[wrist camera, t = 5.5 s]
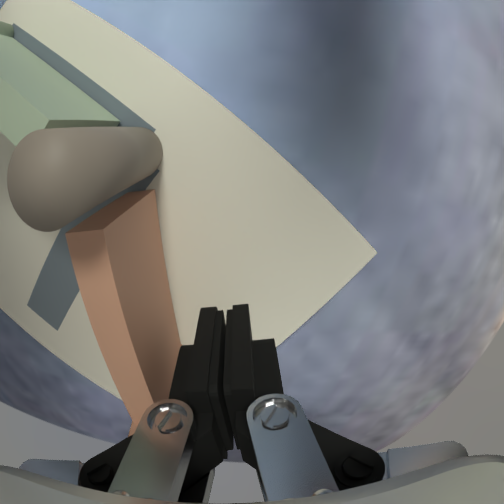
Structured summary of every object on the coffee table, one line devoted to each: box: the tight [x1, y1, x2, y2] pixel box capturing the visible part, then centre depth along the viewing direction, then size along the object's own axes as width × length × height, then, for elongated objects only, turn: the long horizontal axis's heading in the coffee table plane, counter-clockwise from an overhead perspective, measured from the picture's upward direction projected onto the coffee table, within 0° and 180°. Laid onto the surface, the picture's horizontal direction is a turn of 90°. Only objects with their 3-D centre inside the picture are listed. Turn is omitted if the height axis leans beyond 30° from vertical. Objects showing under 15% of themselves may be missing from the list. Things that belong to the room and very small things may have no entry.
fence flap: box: [7, 127, 182, 437], centre depth 8 cm, size 10×2×6 cm, turn 3°
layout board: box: [0, 0, 377, 401], centre depth 10 cm, size 20×14×1 cm
